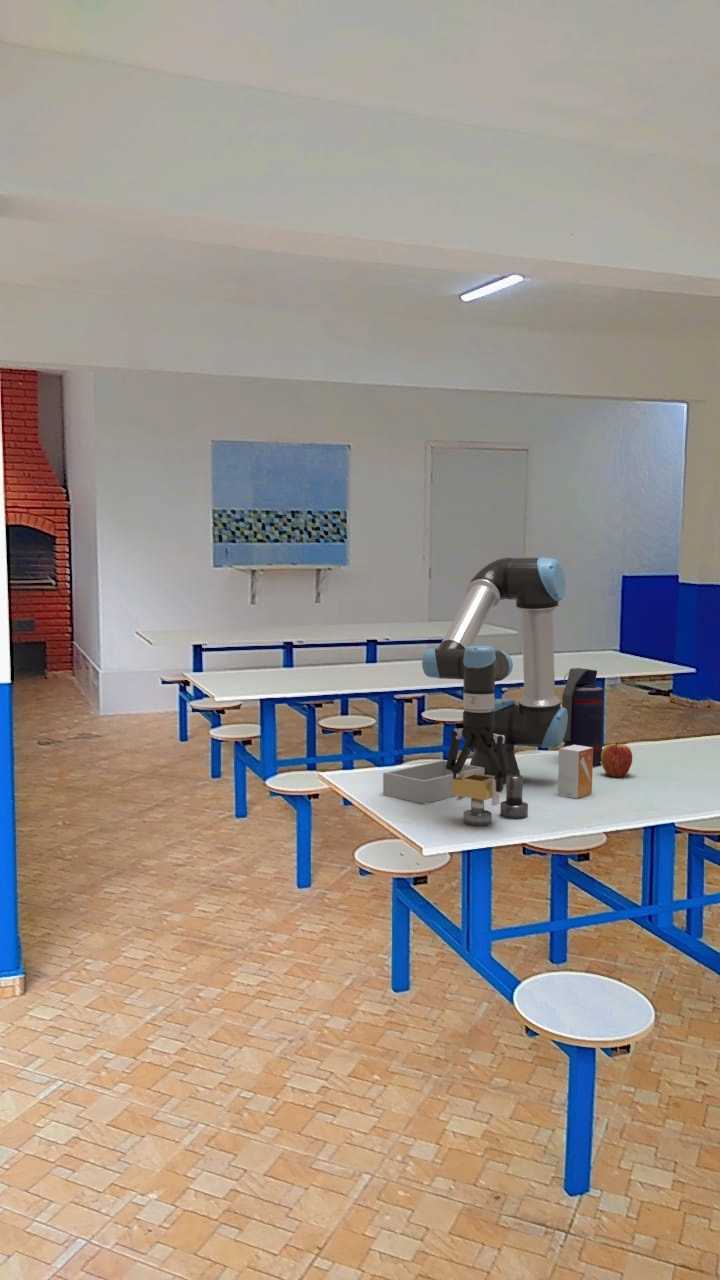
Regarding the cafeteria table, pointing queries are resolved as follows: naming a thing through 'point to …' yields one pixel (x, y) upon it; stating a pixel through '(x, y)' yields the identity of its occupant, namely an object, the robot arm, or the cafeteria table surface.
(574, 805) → the cafeteria table surface
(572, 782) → the small box
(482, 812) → the cylinder
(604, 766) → the apple
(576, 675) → the grenade
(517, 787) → the dark grey round-headed cylinder
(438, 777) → the gray bin
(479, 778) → the gold square ring
